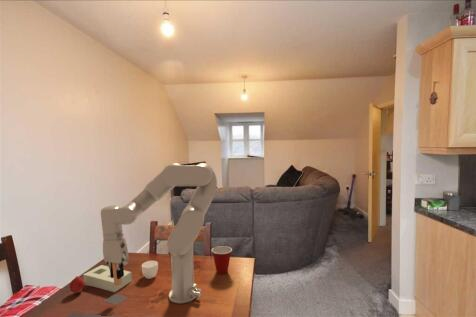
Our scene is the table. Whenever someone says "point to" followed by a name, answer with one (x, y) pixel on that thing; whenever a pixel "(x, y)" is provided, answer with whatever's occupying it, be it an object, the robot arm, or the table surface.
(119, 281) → the peg
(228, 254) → the plastic cup
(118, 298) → the mat
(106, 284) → the socket block
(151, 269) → the cup
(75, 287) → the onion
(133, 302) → the table surface
